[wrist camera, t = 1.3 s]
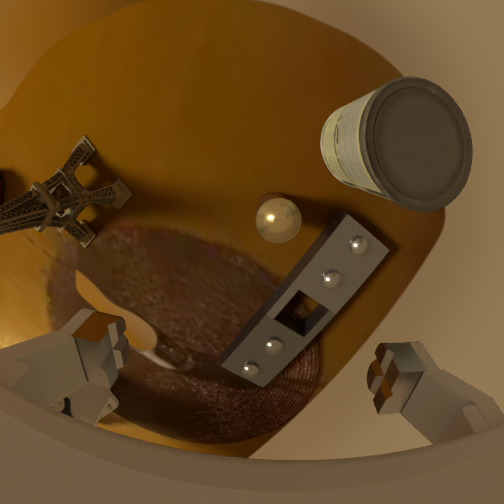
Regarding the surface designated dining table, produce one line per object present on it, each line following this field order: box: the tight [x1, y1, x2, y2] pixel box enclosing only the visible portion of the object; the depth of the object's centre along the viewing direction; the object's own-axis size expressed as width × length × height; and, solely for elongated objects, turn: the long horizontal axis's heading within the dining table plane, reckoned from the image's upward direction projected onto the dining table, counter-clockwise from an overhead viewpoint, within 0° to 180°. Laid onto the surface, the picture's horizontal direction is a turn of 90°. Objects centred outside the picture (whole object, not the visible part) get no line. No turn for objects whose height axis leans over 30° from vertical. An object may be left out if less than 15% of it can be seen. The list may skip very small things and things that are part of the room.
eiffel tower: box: [0, 135, 133, 248], centre depth 21 cm, size 11×11×25 cm
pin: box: [256, 192, 302, 243], centre depth 29 cm, size 4×4×8 cm
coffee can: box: [320, 77, 472, 212], centre depth 24 cm, size 10×10×14 cm
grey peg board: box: [221, 209, 389, 387], centre depth 35 cm, size 25×7×4 cm, turn 145°
